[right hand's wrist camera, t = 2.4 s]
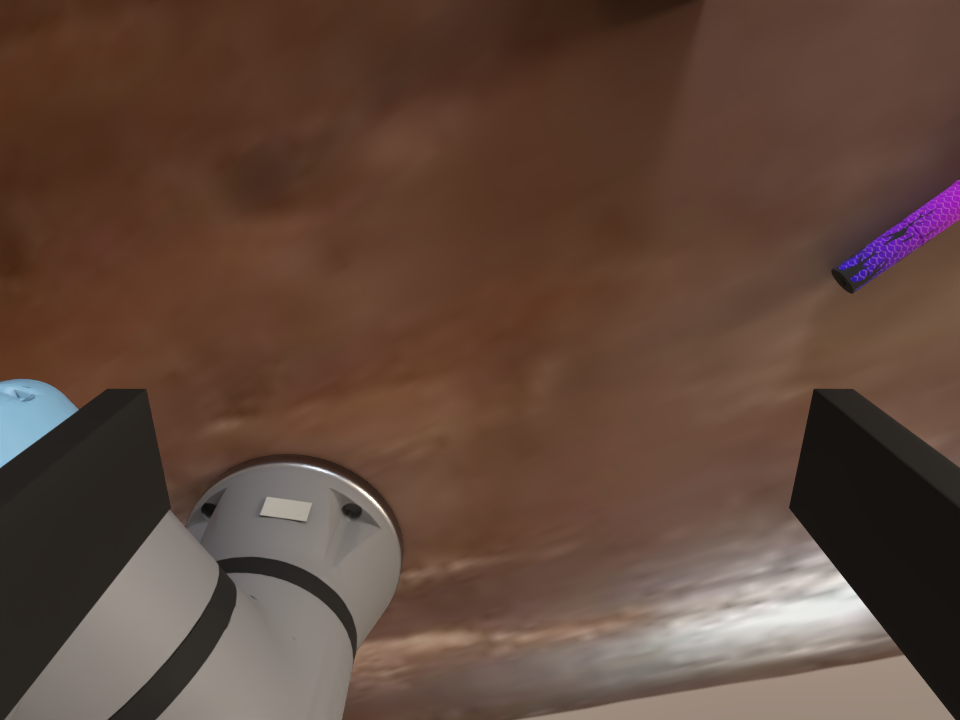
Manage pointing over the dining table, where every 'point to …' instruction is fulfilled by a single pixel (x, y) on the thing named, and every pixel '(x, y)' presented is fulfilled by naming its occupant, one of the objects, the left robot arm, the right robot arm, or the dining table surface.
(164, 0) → the dining table surface
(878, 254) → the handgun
